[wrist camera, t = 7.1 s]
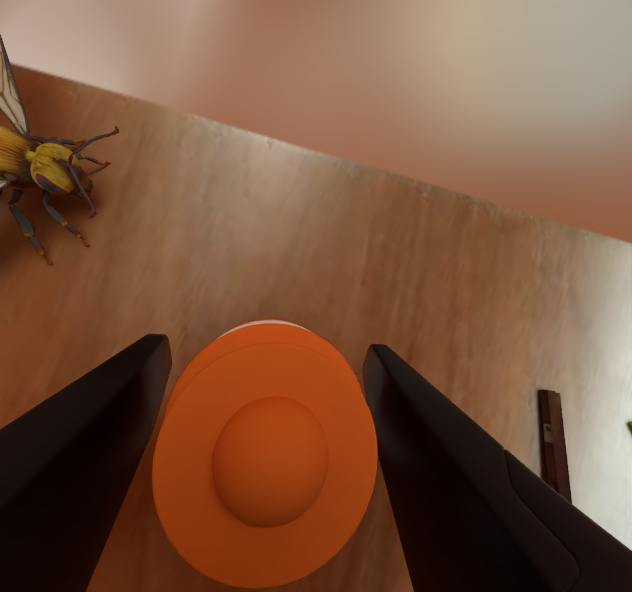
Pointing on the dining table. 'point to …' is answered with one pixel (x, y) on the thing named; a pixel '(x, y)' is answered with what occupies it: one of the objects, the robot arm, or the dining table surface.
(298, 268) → the dining table surface
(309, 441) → the traffic barrel
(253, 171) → the dining table surface
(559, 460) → the dark brown rod
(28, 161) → the insect
